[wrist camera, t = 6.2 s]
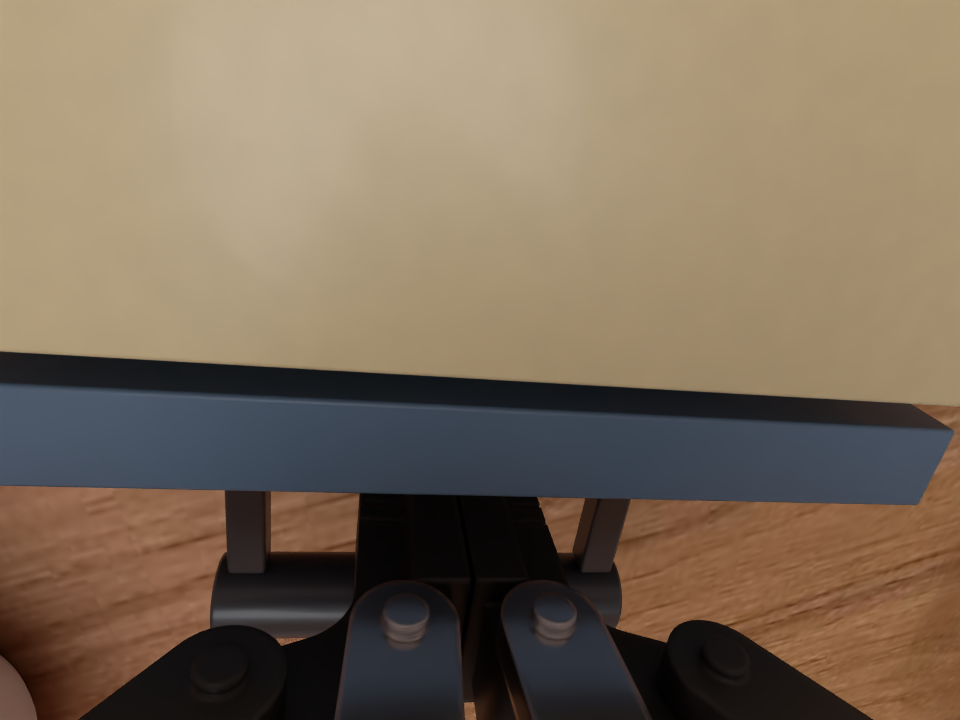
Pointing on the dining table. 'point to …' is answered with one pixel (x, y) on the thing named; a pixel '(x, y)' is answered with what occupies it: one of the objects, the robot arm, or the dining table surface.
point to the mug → (14, 695)
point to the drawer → (433, 455)
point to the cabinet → (491, 189)
